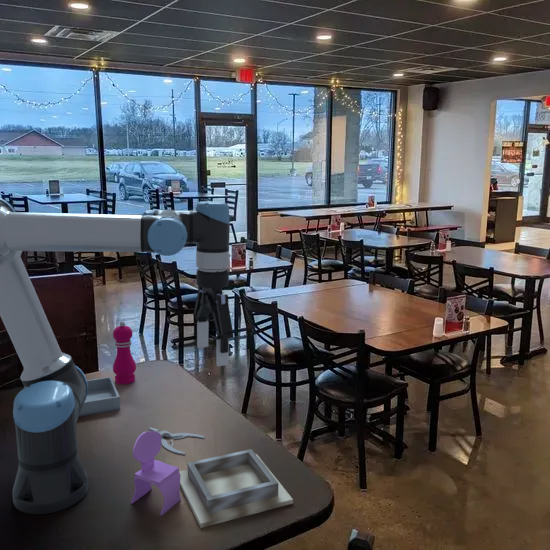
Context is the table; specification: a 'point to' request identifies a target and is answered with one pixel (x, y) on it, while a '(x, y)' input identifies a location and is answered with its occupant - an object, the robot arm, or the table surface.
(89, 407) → the parts tray
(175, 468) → the toy chair
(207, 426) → the table surface
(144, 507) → the table surface
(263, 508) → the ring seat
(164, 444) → the pliers
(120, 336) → the pepper mill
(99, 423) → the table surface
